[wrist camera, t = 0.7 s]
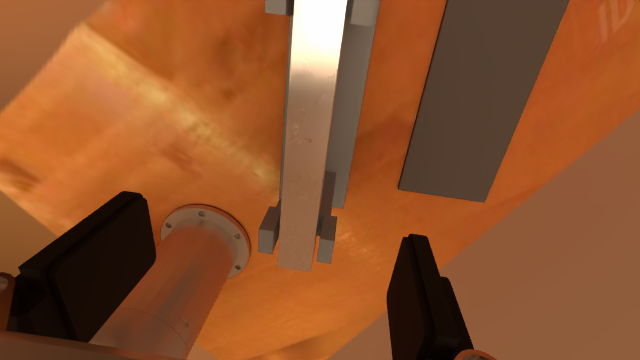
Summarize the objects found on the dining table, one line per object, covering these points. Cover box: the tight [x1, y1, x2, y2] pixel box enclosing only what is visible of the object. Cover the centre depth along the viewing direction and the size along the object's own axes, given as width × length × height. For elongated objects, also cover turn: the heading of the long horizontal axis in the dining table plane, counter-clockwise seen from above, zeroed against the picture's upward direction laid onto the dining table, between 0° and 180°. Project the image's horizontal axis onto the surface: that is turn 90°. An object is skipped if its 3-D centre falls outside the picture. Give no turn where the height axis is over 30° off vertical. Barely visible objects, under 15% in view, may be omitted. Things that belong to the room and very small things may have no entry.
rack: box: [258, 0, 380, 264], centre depth 28 cm, size 25×8×14 cm, turn 173°
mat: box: [398, 0, 570, 203], centre depth 31 cm, size 25×10×1 cm, turn 173°
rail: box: [277, 0, 349, 272], centre depth 24 cm, size 24×3×3 cm, turn 173°
